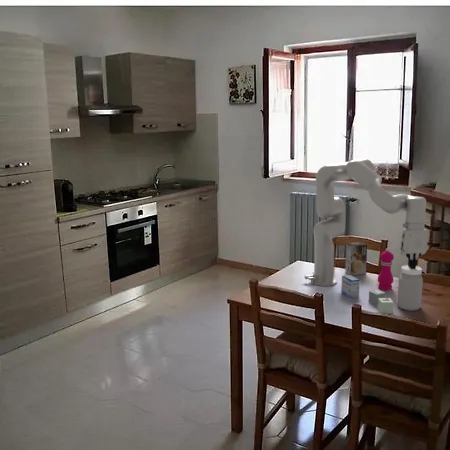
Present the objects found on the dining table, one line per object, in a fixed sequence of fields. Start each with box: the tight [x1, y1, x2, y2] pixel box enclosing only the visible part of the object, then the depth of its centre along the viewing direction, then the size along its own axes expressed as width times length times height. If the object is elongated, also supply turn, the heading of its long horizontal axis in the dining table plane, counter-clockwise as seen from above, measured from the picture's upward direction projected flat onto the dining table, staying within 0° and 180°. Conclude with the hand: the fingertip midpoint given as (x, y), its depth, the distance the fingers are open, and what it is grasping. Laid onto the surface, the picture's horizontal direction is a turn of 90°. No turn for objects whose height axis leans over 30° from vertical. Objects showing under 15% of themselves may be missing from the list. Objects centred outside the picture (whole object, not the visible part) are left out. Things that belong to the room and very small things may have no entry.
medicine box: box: [340, 274, 361, 299], centre depth 232 cm, size 8×4×9 cm, turn 23°
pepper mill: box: [377, 248, 395, 291], centre depth 239 cm, size 7×7×20 cm
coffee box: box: [345, 241, 368, 276], centre depth 262 cm, size 9×6×16 cm
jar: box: [396, 264, 424, 312], centre depth 215 cm, size 10×10×18 cm
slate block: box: [368, 288, 387, 306], centre depth 223 cm, size 5×5×5 cm
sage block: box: [377, 297, 395, 314], centre depth 213 cm, size 5×5×5 cm
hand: (412, 267), depth 213 cm, fingers closed
